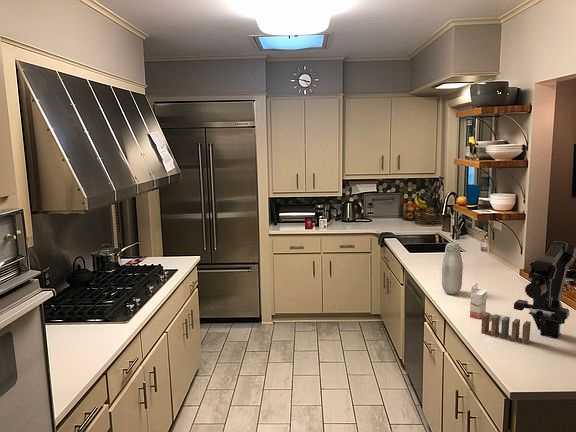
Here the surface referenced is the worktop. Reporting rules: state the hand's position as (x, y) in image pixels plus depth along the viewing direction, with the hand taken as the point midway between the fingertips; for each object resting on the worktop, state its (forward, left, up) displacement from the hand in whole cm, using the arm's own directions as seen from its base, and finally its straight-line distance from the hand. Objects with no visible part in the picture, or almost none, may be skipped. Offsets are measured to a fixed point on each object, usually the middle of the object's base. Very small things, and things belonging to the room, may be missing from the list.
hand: (539, 329), depth 184 cm
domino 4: (+5, 0, -6) cm, 8 cm away
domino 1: (+21, 0, -6) cm, 22 cm away
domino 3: (+9, 0, -6) cm, 11 cm away
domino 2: (+17, 0, -6) cm, 18 cm away
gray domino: (+13, 0, -6) cm, 14 cm away
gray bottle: (+52, -40, -7) cm, 66 cm away
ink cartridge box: (+30, -17, -7) cm, 35 cm away
